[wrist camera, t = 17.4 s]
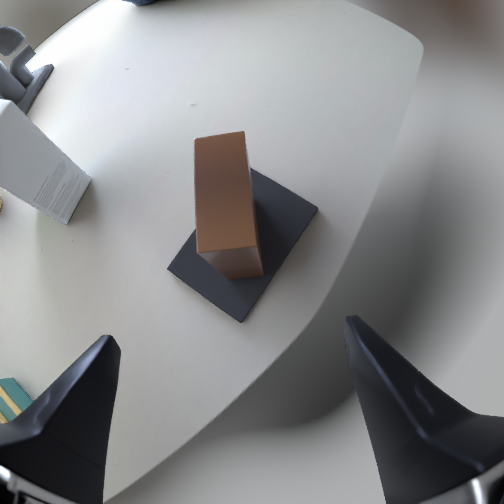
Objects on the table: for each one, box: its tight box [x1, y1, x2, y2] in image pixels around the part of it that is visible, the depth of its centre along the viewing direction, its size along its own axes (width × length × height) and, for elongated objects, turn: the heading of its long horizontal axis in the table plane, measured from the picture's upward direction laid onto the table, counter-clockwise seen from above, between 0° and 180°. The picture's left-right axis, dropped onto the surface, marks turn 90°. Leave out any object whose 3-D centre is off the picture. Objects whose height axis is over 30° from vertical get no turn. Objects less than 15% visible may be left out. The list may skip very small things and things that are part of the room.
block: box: [194, 131, 264, 280], centre depth 20 cm, size 7×3×10 cm, turn 6°
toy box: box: [0, 378, 34, 423], centre depth 20 cm, size 9×5×4 cm, turn 66°
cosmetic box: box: [0, 99, 92, 225], centre depth 20 cm, size 8×7×16 cm
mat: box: [167, 168, 318, 323], centre depth 25 cm, size 8×12×1 cm, turn 145°
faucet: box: [0, 26, 54, 114], centre depth 25 cm, size 18×16×20 cm
